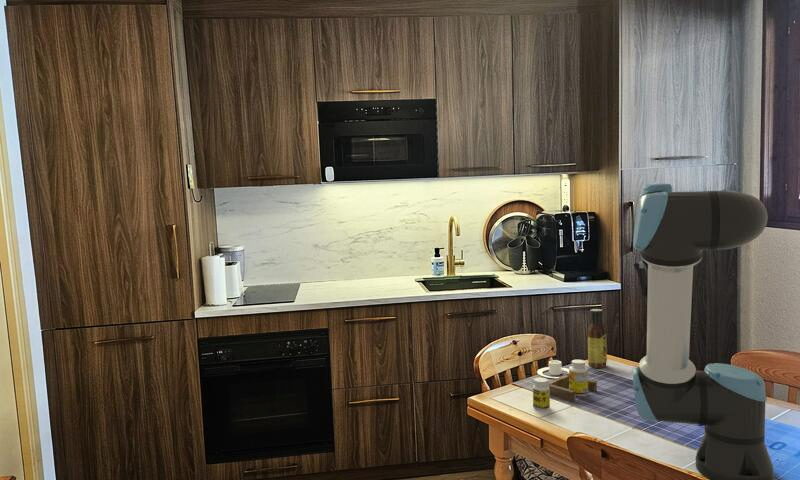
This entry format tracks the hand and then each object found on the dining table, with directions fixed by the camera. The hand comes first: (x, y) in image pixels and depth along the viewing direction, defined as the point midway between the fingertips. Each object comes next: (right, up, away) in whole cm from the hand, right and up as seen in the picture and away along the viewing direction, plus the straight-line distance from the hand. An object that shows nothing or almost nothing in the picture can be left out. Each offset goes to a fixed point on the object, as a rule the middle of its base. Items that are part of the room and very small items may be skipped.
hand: (657, 322), depth 172 cm
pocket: (-20, -24, +16) cm, 35 cm away
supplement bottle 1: (-31, -26, +5) cm, 41 cm away
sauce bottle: (-4, -21, +40) cm, 46 cm away
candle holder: (-20, -23, +35) cm, 46 cm away
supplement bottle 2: (-18, -24, +15) cm, 33 cm away
